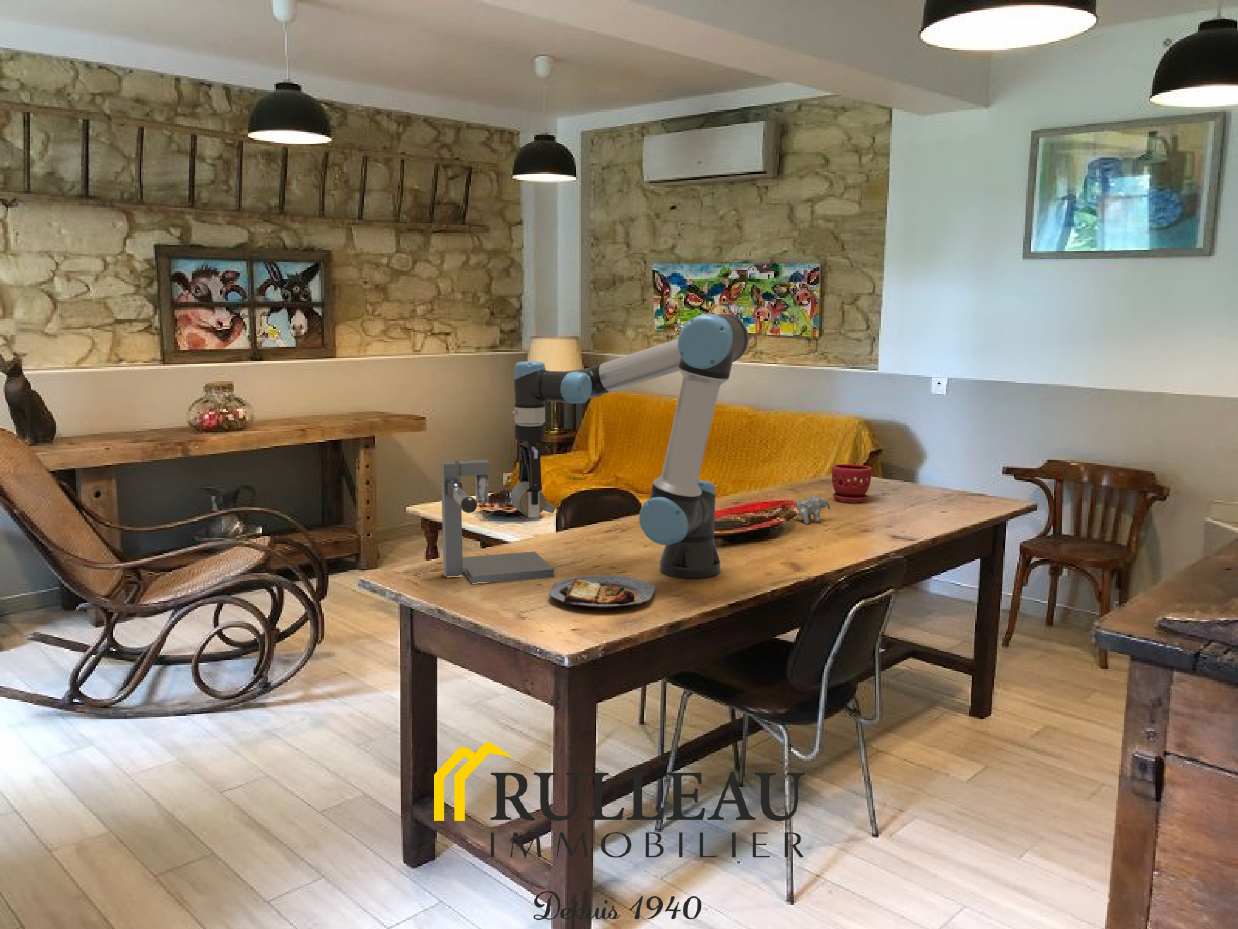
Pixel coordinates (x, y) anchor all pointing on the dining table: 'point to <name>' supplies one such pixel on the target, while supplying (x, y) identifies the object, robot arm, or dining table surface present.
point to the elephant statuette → (811, 508)
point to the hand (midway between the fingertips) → (529, 513)
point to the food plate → (590, 588)
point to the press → (453, 562)
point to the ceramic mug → (521, 499)
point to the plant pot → (851, 482)
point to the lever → (461, 497)
